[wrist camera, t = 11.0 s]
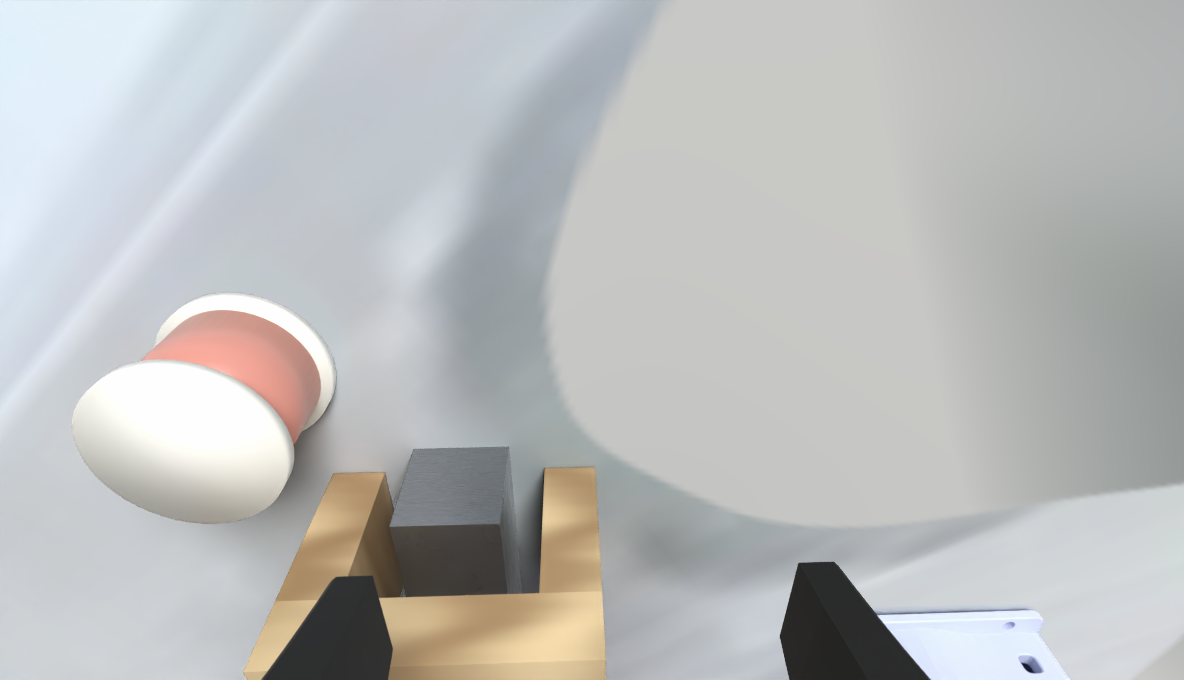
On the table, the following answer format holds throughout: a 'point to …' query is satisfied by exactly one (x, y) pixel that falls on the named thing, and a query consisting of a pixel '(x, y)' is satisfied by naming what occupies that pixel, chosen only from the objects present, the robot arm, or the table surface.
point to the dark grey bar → (457, 524)
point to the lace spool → (208, 410)
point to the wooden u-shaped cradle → (456, 623)
